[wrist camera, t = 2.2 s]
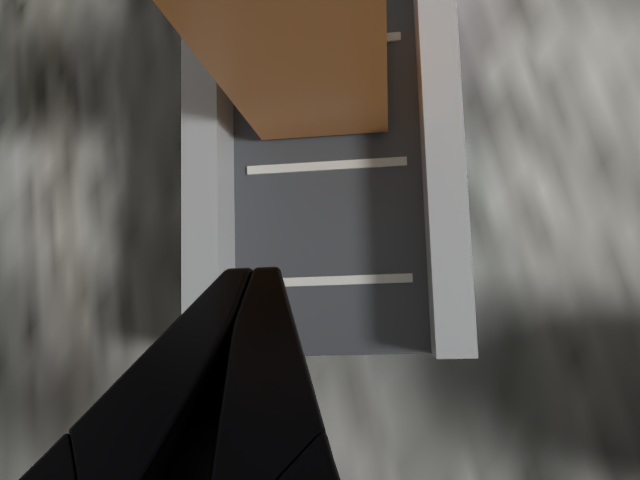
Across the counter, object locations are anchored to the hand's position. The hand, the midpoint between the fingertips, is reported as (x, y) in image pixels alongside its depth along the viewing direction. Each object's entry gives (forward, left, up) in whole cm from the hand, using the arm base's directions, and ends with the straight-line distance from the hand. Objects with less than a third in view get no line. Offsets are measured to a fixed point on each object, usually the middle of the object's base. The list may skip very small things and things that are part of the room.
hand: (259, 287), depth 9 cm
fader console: (+7, 0, -12) cm, 15 cm away
